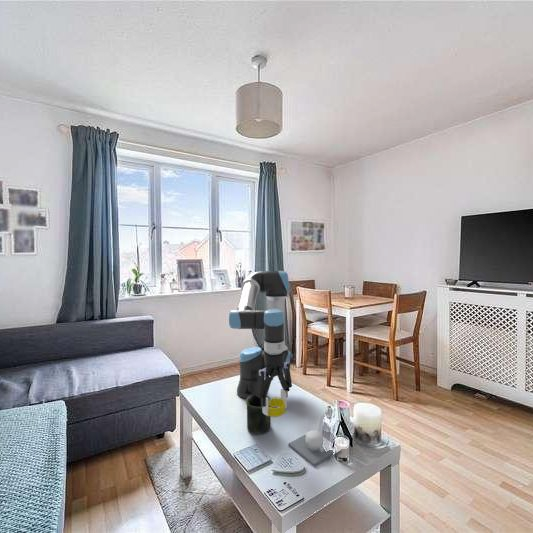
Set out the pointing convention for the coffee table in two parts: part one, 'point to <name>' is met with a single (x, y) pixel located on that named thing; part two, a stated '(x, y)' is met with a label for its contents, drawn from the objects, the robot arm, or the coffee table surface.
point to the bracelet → (276, 411)
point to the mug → (257, 416)
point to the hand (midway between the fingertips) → (274, 410)
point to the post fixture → (311, 447)
